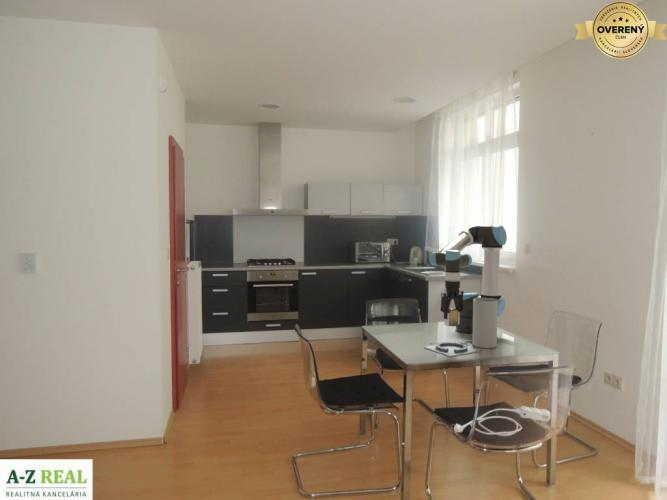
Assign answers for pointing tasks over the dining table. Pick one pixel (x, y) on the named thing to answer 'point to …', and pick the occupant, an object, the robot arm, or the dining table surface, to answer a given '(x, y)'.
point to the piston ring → (461, 350)
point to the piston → (453, 317)
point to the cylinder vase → (485, 322)
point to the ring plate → (451, 350)
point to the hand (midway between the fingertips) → (451, 324)
